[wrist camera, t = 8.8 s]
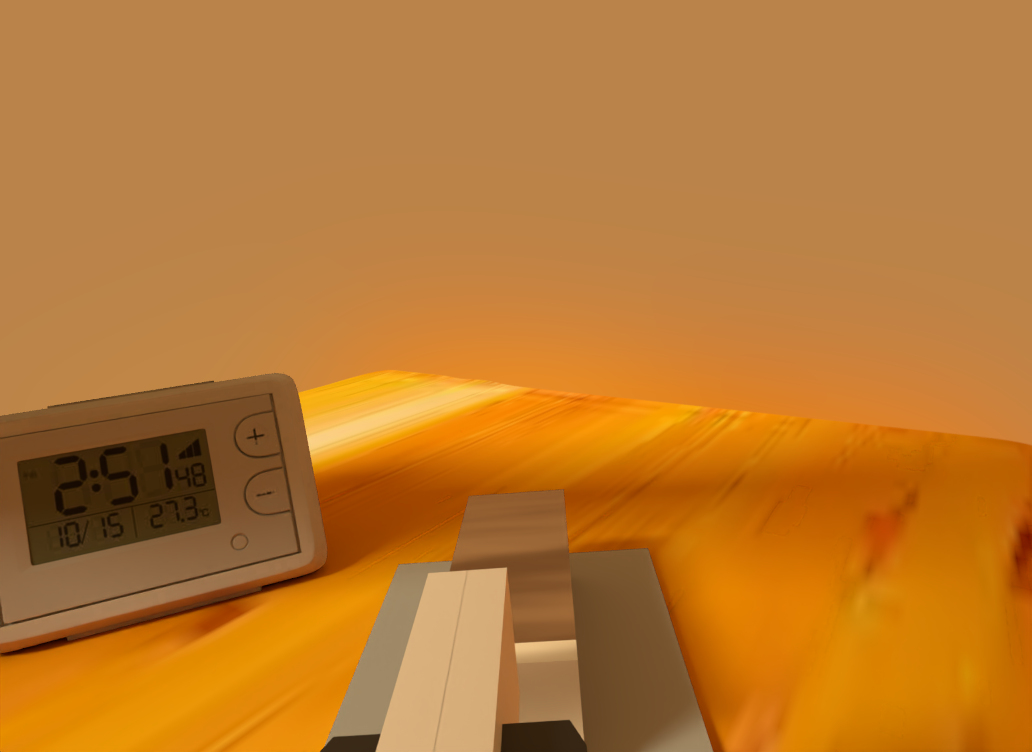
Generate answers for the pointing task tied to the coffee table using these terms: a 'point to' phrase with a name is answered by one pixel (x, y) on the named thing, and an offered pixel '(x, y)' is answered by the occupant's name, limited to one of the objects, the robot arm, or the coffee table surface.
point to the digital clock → (152, 506)
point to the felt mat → (600, 650)
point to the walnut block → (530, 593)
